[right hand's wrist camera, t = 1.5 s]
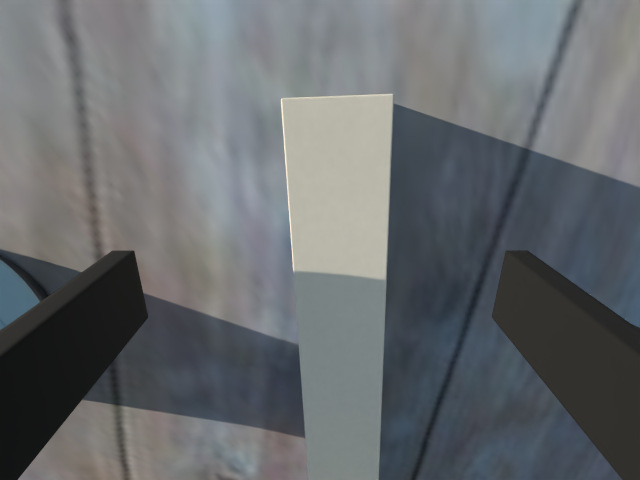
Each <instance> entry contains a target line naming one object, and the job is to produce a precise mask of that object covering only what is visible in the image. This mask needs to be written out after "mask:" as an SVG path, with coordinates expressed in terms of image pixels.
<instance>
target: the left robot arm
mask: <svg viewBox="0 0 640 480" xmlns="http://www.w3.org/2000/svg"><path fill="white" fill-rule="evenodd" d="M45 298H47V295H46V294H45V292H44V291H43V290H42V289H41V288H40V286H39V285H38V284H37V283H36V282H35V281H34V280H33V279H32V278H31V277H30V276H29V275H28V274H26V273H25V272H24V271H23V270H21V269H20V268H19V267H17V266H16V265H15V264H13V263H12V262H10V261H9V260H7V259H5V258H3V257H2V256H0V329H3V328H4V327H6V326H7V325H8V324H10V323H11V322H13V321H14V320H16V319H17V318H18V317H20V316H21V315H23V314H24V313H25V312H27V311H28V310H30V309H31V308H32V307H34V306H35V305H37V304H38V303H39V302H41V301H42V300H44V299H45Z"/></svg>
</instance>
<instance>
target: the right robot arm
mask: <svg viewBox="0 0 640 480" xmlns="http://www.w3.org/2000/svg"><path fill="white" fill-rule="evenodd" d="M147 318H148V314H147V309H146V304H145V300H144V295H143V290H142V286H141V281H140V276H139V271H138V267H137V262H136V257H135V253H134V251H111V252H110V253H109V254H107V255H106V256H104V257H103V258H102V259H100V260H99V261H97V262H96V263H94V264H93V265H92V266H90V267H89V268H87V269H86V270H85V271H83V272H82V273H80V274H79V275H78V276H76V277H75V278H73V279H72V280H70V281H69V282H68V283H66V284H65V285H63V286H62V287H61V288H59V289H58V290H56V291H55V292H54V293H52V294H51V295H49V296H48V297H47V298H45V299H44V300H42V301H41V302H39V303H38V304H37V305H35V306H34V307H32V308H31V309H30V310H28V311H27V312H25V313H24V314H23V315H21V316H20V317H18V318H17V319H16V320H14V321H13V322H11V323H10V324H8V325H7V326H6V327H4V328H3V329H0V480H18V478H19V477H20V476H21V475H22V473H23V472H24V471H25V470H26V468H27V467H28V466H29V465H30V463H31V462H32V461H33V460H34V459H35V457H36V456H37V455H38V454H39V452H40V451H41V450H42V449H43V447H44V446H45V445H46V444H47V442H48V441H49V440H50V439H51V437H52V436H53V435H54V434H55V432H56V431H57V430H58V429H59V427H60V426H61V425H62V424H63V422H64V421H65V420H66V419H67V417H68V416H69V415H70V414H71V412H72V411H73V410H74V409H75V408H76V406H77V405H78V404H79V403H80V401H81V400H82V399H83V398H84V396H85V395H86V394H87V393H88V391H89V390H90V389H91V388H92V386H93V385H94V384H95V383H96V381H97V380H98V379H99V378H100V376H101V375H102V374H103V373H104V371H105V370H106V369H107V368H108V366H109V365H110V364H111V363H112V362H113V360H114V359H115V358H116V357H117V355H118V354H119V353H120V352H121V350H122V349H123V348H124V347H125V345H126V344H127V343H128V342H129V340H130V339H131V338H132V337H133V335H134V334H135V333H136V332H137V330H138V329H139V328H140V327H141V325H142V324H143V323H144V322H145V320H146V319H147ZM492 318H493V319H494V320H495V322H496V323H497V324H498V325H499V327H500V328H501V329H502V330H503V332H504V333H505V334H506V335H507V337H508V338H509V339H510V340H511V342H512V343H513V344H514V345H515V347H516V348H517V349H518V350H519V352H520V353H521V354H522V355H523V357H524V358H525V359H526V360H527V362H528V363H529V364H530V365H531V366H532V368H533V369H534V370H535V371H536V373H537V374H538V375H539V376H540V378H541V379H542V380H543V381H544V383H545V384H546V385H547V386H548V388H549V389H550V390H551V391H552V393H553V394H554V395H555V396H556V398H557V399H558V400H559V401H560V403H561V404H562V405H563V406H564V408H565V409H566V410H567V411H568V412H569V414H570V415H571V416H572V417H573V419H574V420H575V421H576V422H577V424H578V425H579V426H580V427H581V429H582V430H583V431H584V432H585V434H586V435H587V436H588V437H589V439H590V440H591V441H592V442H593V444H594V445H595V446H596V447H597V449H598V450H599V451H600V452H601V454H602V455H603V456H604V457H605V459H606V460H607V461H608V462H609V463H610V465H611V466H612V467H613V468H614V470H615V471H616V472H617V473H618V475H619V476H620V477H621V478H622V480H640V328H639V327H636V326H634V325H632V324H630V323H629V322H627V321H626V320H624V319H623V318H622V317H620V316H619V315H617V314H616V313H615V312H613V311H612V310H610V309H609V308H608V307H606V306H605V305H603V304H602V303H601V302H599V301H598V300H596V299H595V298H593V297H592V296H591V295H589V294H588V293H586V292H585V291H584V290H582V289H581V288H579V287H578V286H577V285H575V284H574V283H572V282H571V281H570V280H568V279H567V278H565V277H564V276H562V275H561V274H560V273H558V272H557V271H555V270H554V269H553V268H551V267H550V266H548V265H547V264H546V263H544V262H543V261H541V260H540V259H538V258H537V257H536V256H534V255H533V254H531V253H530V252H529V251H506V253H505V257H504V262H503V267H502V271H501V276H500V281H499V286H498V290H497V295H496V300H495V304H494V309H493V314H492Z"/></svg>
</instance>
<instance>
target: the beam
mask: <svg viewBox="0 0 640 480" xmlns="http://www.w3.org/2000/svg"><path fill="white" fill-rule="evenodd" d="M393 106H394V95H393V94H377V95H351V96H326V97H300V98H282V99H281V107H282V120H283V134H284V148H285V162H286V176H287V190H288V204H289V218H290V232H291V245H292V259H293V273H294V287H295V301H296V315H297V329H298V343H299V357H300V370H301V384H302V398H303V412H304V426H305V440H306V454H307V468H308V480H379V461H380V435H381V410H382V385H383V359H384V334H385V309H386V283H387V258H388V233H389V208H390V182H391V157H392V132H393Z"/></svg>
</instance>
